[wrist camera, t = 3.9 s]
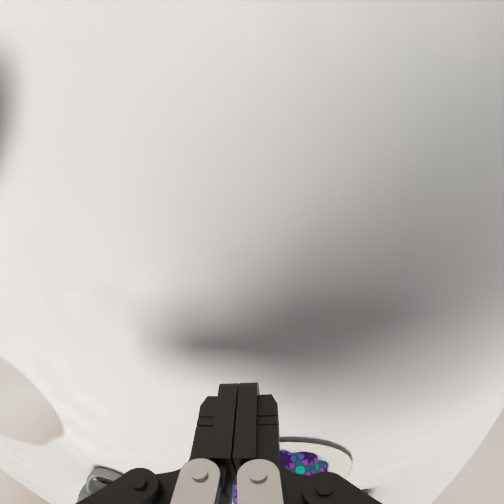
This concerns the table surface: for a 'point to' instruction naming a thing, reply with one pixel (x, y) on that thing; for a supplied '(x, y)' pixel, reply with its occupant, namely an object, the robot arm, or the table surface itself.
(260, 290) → the table surface
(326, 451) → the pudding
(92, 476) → the ceramic mug
